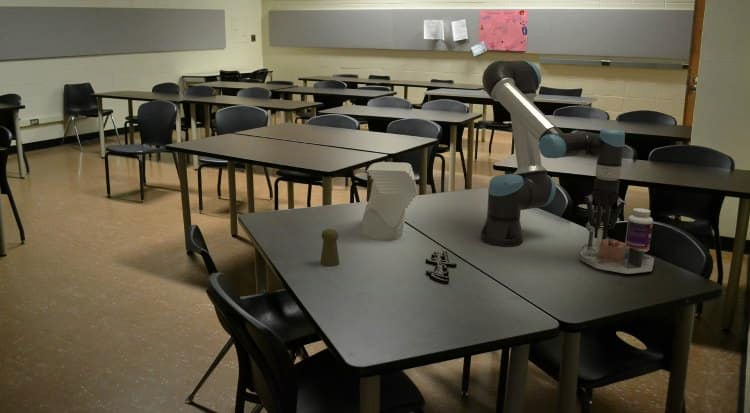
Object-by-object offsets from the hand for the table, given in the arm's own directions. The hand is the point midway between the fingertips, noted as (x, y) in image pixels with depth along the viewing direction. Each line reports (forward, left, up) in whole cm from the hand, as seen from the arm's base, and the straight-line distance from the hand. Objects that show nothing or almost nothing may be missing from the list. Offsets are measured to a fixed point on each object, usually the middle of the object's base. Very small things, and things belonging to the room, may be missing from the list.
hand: (599, 248), depth 207 cm
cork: (-70, -54, -5) cm, 89 cm away
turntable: (+6, 0, -4) cm, 7 cm away
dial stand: (-4, +10, -4) cm, 12 cm away
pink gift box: (+4, 0, -2) cm, 5 cm away
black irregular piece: (-39, -37, -5) cm, 54 cm away
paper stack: (-71, -14, -5) cm, 73 cm away
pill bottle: (+9, +20, -5) cm, 22 cm away
